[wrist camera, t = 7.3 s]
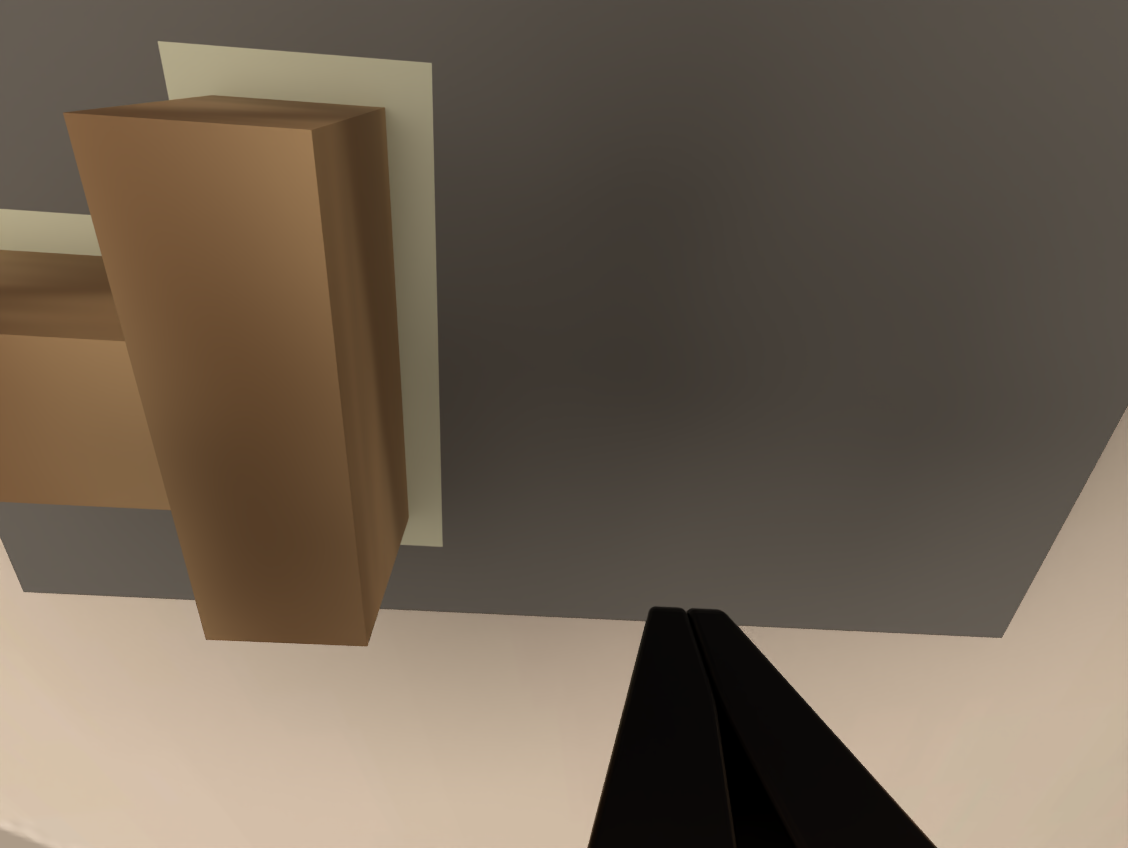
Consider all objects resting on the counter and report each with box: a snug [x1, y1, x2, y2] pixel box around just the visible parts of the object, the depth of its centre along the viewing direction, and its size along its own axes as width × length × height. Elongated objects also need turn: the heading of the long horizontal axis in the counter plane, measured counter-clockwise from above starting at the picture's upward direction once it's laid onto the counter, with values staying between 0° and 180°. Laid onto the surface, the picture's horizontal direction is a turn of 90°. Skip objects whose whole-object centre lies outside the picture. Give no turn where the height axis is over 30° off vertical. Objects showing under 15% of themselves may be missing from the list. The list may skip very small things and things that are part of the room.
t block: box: [0, 95, 409, 646], centre depth 12 cm, size 9×9×4 cm
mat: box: [0, 0, 1128, 638], centre depth 13 cm, size 26×19×1 cm
